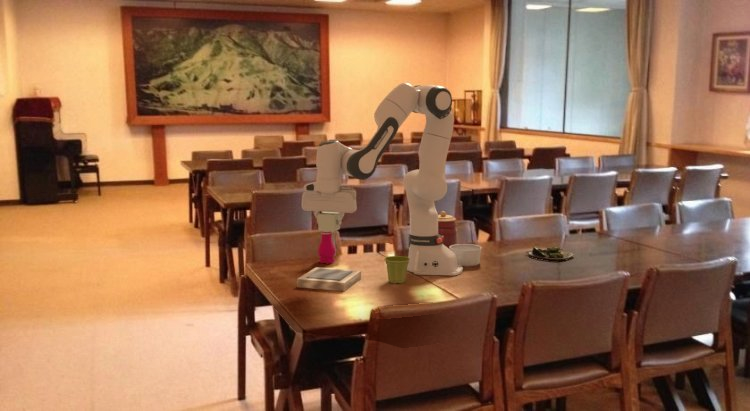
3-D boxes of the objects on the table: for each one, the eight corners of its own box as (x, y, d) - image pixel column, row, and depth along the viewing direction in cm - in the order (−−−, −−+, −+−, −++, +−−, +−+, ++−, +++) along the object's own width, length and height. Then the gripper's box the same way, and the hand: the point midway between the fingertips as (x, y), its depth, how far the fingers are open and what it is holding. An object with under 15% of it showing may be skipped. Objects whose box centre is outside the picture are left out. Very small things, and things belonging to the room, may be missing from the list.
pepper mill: (336, 260, 283) (336, 213, 280) (334, 264, 276) (333, 215, 273) (319, 259, 283) (319, 212, 280) (316, 263, 276) (315, 215, 273)
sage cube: (339, 228, 246) (339, 212, 245) (334, 231, 241) (333, 215, 240) (324, 227, 248) (324, 211, 247) (318, 230, 242) (318, 214, 242)
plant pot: (394, 277, 256) (394, 254, 254) (414, 281, 250) (415, 258, 248) (379, 282, 248) (379, 259, 247) (399, 286, 243) (399, 262, 241)
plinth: (361, 278, 253) (360, 270, 253) (344, 291, 236) (344, 282, 236) (316, 274, 259) (316, 266, 258) (297, 287, 242) (297, 278, 241)
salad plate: (545, 250, 303) (546, 240, 303) (581, 256, 291) (582, 246, 290) (520, 257, 290) (521, 246, 290) (557, 264, 278) (557, 253, 277)
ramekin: (444, 265, 275) (444, 248, 274) (455, 258, 286) (456, 242, 285) (475, 268, 269) (475, 251, 268) (485, 262, 280) (486, 245, 279)
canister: (422, 248, 305) (423, 210, 303) (447, 246, 311) (448, 208, 308) (437, 254, 294) (438, 214, 291) (462, 251, 299) (463, 212, 297)
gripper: (359, 186, 242) (359, 224, 244) (306, 183, 248) (306, 221, 250) (353, 188, 236) (353, 227, 238) (299, 185, 242) (300, 223, 244)
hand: (329, 223), depth 244 cm, fingers closed on sage cube, 6 cm apart
